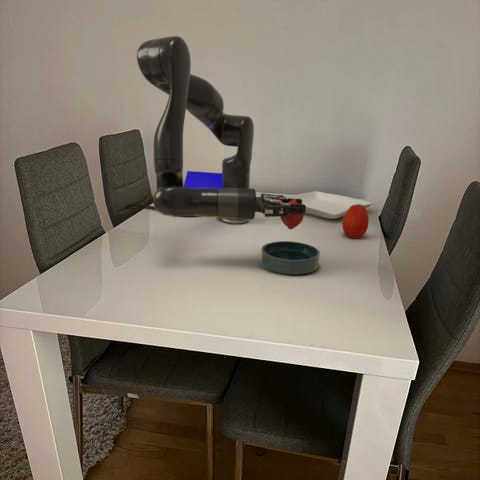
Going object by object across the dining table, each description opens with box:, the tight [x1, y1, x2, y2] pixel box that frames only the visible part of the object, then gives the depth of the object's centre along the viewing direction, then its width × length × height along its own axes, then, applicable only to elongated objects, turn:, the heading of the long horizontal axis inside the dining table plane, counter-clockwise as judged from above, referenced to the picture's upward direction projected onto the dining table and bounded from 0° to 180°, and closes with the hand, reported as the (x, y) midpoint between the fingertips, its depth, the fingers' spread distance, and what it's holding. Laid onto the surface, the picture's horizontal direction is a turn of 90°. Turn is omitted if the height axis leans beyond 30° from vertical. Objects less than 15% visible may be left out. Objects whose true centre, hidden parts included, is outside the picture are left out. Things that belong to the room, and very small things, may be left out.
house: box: [183, 170, 222, 188], centre depth 174 cm, size 12×20×12 cm, turn 81°
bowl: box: [260, 240, 321, 275], centre depth 120 cm, size 15×15×4 cm
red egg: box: [341, 204, 370, 239], centre depth 144 cm, size 8×8×11 cm
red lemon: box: [280, 198, 305, 230], centre depth 114 cm, size 6×6×8 cm
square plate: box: [286, 190, 374, 220], centre depth 173 cm, size 27×27×4 cm
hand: (303, 206), depth 114 cm, fingers closed on red lemon, 5 cm apart
